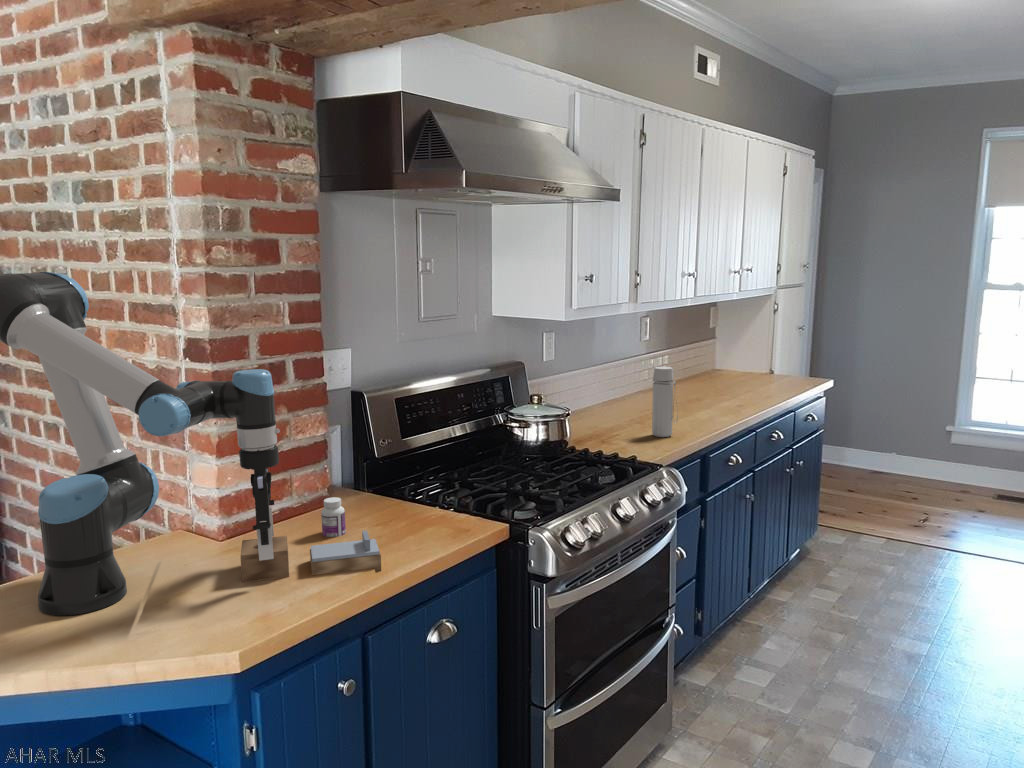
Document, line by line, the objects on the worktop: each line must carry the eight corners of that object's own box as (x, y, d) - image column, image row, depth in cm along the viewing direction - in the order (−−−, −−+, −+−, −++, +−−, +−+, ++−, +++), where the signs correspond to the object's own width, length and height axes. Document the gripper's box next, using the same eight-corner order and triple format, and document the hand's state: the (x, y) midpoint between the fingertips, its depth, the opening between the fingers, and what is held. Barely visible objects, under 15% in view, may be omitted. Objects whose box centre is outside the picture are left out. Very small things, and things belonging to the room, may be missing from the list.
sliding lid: (312, 562, 161) (311, 547, 160) (310, 548, 168) (310, 534, 167) (379, 554, 164) (379, 540, 164) (375, 541, 172) (374, 528, 171)
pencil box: (312, 581, 161) (311, 562, 160) (310, 567, 169) (309, 549, 168) (381, 573, 165) (380, 555, 164) (376, 559, 172) (376, 542, 172)
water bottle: (651, 437, 286) (653, 369, 282) (651, 433, 293) (652, 366, 289) (677, 438, 284) (679, 369, 280) (677, 433, 292) (678, 366, 288)
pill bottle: (336, 533, 189) (334, 494, 188) (350, 538, 186) (348, 498, 184) (317, 540, 185) (315, 500, 184) (332, 544, 182) (330, 504, 180)
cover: (242, 589, 158) (240, 550, 157) (244, 572, 166) (242, 535, 165) (289, 583, 160) (287, 545, 159) (288, 567, 169) (286, 531, 168)
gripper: (277, 459, 148) (286, 566, 151) (277, 432, 172) (285, 526, 175) (235, 463, 146) (245, 572, 149) (241, 435, 170) (249, 530, 173)
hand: (266, 547), depth 162 cm, fingers open, 13 cm apart
